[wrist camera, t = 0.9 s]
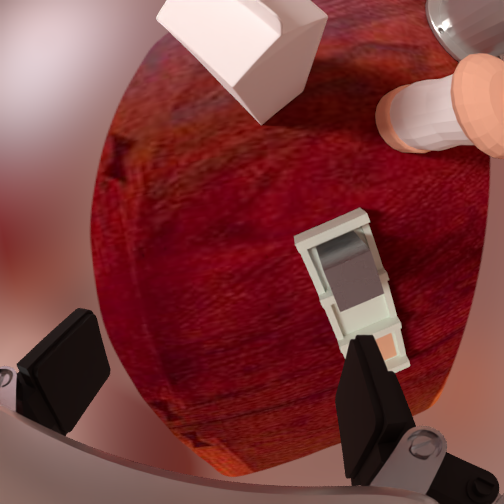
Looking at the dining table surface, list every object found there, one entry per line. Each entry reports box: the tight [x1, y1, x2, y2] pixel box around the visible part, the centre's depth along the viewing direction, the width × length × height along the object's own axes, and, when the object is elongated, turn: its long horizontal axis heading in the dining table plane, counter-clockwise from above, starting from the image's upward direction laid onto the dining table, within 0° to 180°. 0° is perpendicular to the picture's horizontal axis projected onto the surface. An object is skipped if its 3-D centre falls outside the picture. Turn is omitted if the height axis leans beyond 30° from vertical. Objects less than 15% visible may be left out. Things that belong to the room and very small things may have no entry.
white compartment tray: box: [294, 208, 410, 373], centre depth 33 cm, size 8×22×3 cm, turn 26°
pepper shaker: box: [375, 53, 504, 159], centre depth 18 cm, size 7×7×19 cm
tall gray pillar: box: [316, 231, 384, 312], centre depth 29 cm, size 4×4×7 cm
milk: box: [156, 0, 328, 125], centre depth 18 cm, size 6×6×22 cm
